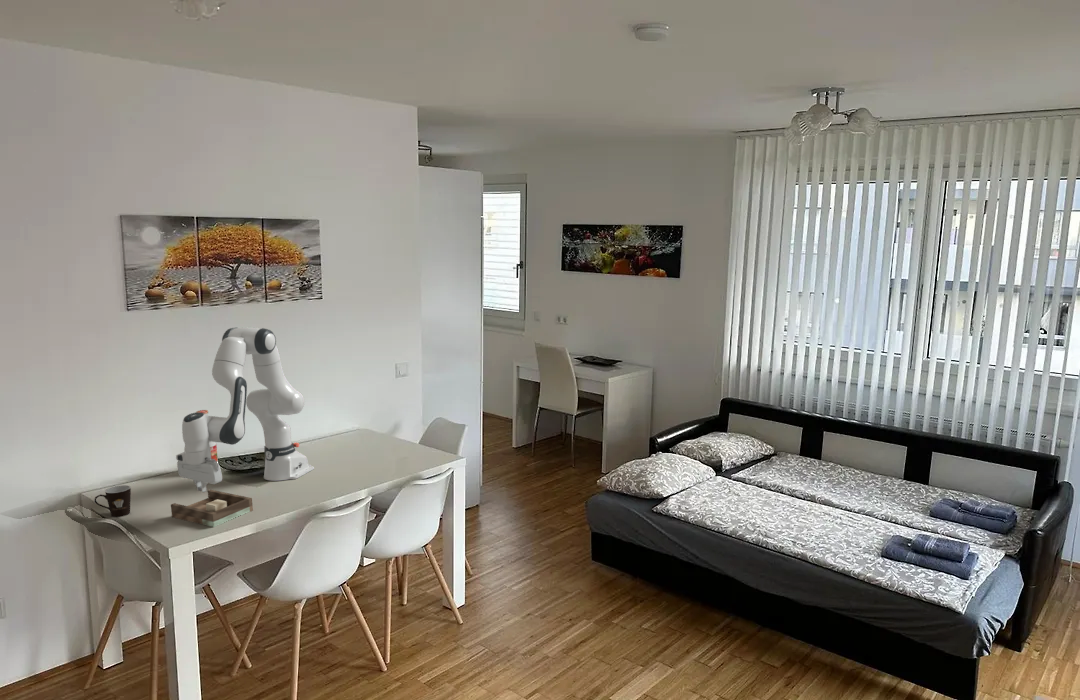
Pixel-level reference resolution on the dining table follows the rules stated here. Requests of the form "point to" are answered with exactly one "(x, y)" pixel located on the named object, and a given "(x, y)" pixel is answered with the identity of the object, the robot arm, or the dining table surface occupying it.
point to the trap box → (202, 516)
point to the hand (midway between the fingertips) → (201, 491)
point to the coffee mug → (117, 500)
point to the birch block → (216, 505)
